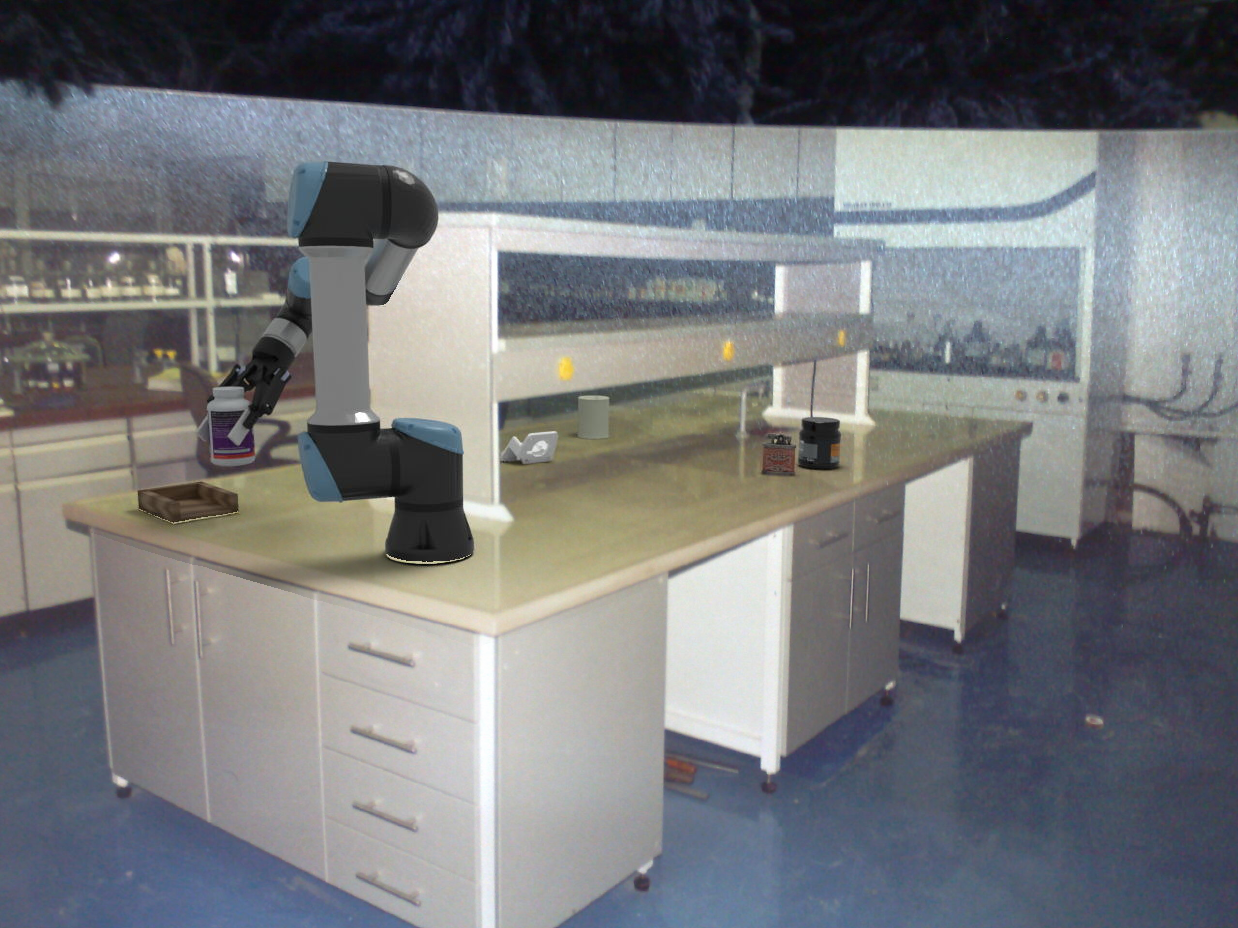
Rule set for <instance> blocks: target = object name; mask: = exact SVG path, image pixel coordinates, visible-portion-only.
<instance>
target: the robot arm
mask: <svg viewBox="0 0 1238 928" xmlns="http://www.w3.org/2000/svg"><path fill="white" fill-rule="evenodd" d="M289 186H290V187H289V191H288V192H289V193H288V199H287V200H288V202H287V214H286V215H287V217H286V220H287V221H286V224H287V225H286V226H287V227H286V229H287V235H288V236H289V237H291V238H293V239H295V240H296V238H297V240H298V241H297V242H298V250H299V251H300V253H301V254H303V255H304V256H302V257H300V258H298V259H297V260H295V262H294V263H293V264H292V266H291V269H290V272H289V274H288V277H287V290H286V293H285V300H284V303H283V305H282V307H281V308H280V310H279V311H278V312H277V314H276V316H275V317H274V319H272V321H271V322H270V323H269V325H268V326H267V328H266V329H265V331H264V332H263V333H262V337H260V338H259V339H258V341H257V343H256V344H255V346H254V347H253V348H252V351H251V355H252V356H251V357H252V358H251V361H249V362H248V363H247V364H246V365H245V366H241V365H240V364H239V363H236V364H234V365H233V367H232V368H231V371H230V373H229V374H228V375H227V376H226V377H225V378H224V379H223V381H222V382H220V384H219V385H218V386H217V387H243V388H244V394H245V393H246V392H249V391H252V390H253V389H254V388H255V389H254V393H253V397H252V400H251V405H248V407H249V408H250V409H251V411H250V410H249V409H245V411H244V412H243V414H242V415H241V417H240V418H239V420H238V421H237V423H236V424H235V426H234V427H233V429H232V430H231V432H230V433H229V435H228V436H227V437H228V438H229V439H230V440H231V441H232V442H233V443H235V444H236V445H238V446H239V445H240V444H241V442H242V441H243V439H244V438H245V436H246V434H247V433H248V431H249V430H250V429H251V428H252V427H253V428H254V427H255V424H256V423H257V422H258V420H259V418H262V417H263V416H264V415H266V416H267V417H268V416H271V415H272V414H273V411H274V410H275V408H276V405H277V404H278V401H279V399H280V397H281V395H282V393H283V391H284V389H285V387H286V385H287V384H288V383H289V381H291V379H292V377H293V375H292V374H291V373H290V372H289V369H290V367H291V366H292V365H293V363H294V361H295V359H296V358H297V356H298V355H299V353H300V352H301V350H302V349H303V347H304V345H305V344H306V342H307V341H308V340H309V338H310V337H311V336H312V346H313V349H312V350H313V370H314V391H315V393H314V395H315V411H314V412H313V413H312V415H310V417H308V419H306V423H307V424H306V426H307V427H306V428H307V430H304V431H302V432H299V433H298V435H297V441H298V442H297V444H298V454H299V460H300V465H301V471H302V473H303V477H304V482H305V485H306V488H307V491H308V493H309V495H310V496H311V498H312V499H314V501H317V502H318V503H319V502H321V503H330V502H331V503H332V502H333V503H336V502H337V503H343V502H347V501H361V500H363V501H364V500H373V499H376V500H377V499H387V498H394V511H393V512H394V513H393V516H392V519H391V521H390V525H389V529H388V533H387V537H386V539H385V543H384V551H385V552H386V554H388V555H389V556H391V557H394V558H397V559H401V560H406V561H422V562H426V561H427V562H433V561H450V560H455V559H460V558H463V557H466V556H468V555H470V554H472V553H473V551H474V552H475V539H474V536H473V533H472V531H471V527H470V524H469V522H468V519H467V515H466V512H465V509H464V460H463V459H464V457H463V455H464V453H465V451H464V448H463V437H462V432H461V430H460V429H459V427H457V426H456V425H455V424H452V423H448V422H446V421H445V422H444V421H440V420H433V419H427V418H420V417H419V418H416V417H396V418H394V419H393V420H392V422H391V424H390V426H391V427H387V428H381V419H380V416H378V414H376V413H375V412H374V411H373V410H372V409H371V396H370V395H371V393H370V372H369V369H370V368H369V346H368V345H369V344H368V343H369V342H368V341H369V339H368V317H367V315H368V313H367V307H368V306H369V307H370V306H374V307H376V306H377V307H380V305H384V304H386V303H387V302H388V301H389V299H390V297H391V295H392V294H393V292H394V290H395V289H396V287H397V285H398V283H399V281H400V280H401V278H402V276H403V274H404V275H405V273H406V271H407V269H408V268H409V266H410V264H411V263H412V260H413V258H414V257H415V255H416V253H417V252H418V250H419V249H421V248H423V247H424V246H425V245H427V244H428V243H429V242H430V241H431V239H432V237H433V236H434V234H435V232H436V230H437V228H438V223H439V207H438V203H437V201H436V199H435V197H434V195H433V192H432V191H431V190H430V188H429V187H428V186H427V184H425V182H424V181H422V179H420V178H419V177H418V176H417V175H415V174H414V173H412V172H411V171H408V170H407V169H404V168H402V167H399V166H394V165H392V164H391V165H390V164H382V165H381V164H380V165H379V164H367V163H366V164H365V163H355V162H354V163H352V162H341V161H340V162H339V161H327V160H326V161H325V160H324V161H305V162H300V163H299V164H298V165H297V166H296V167H295V169H294V171H293V173H292V175H291V180H290V185H289ZM214 399H215V397H214V396H213V392H212V393H211V395H210V396H209V397H207V399H206V403H207V405H208V404H209V402H211V401H213V400H214ZM194 433H195V435H197V436H198V438H200V439H201V440H202V441H203V442H208V441H209V432H208V418H207V413H206V414H205V416H204V417H203V420H202V422H201V424H200V425H199V426H198V427H197V429H196V430H195V432H194ZM473 554H474V553H473ZM473 554H472V555H473Z"/></svg>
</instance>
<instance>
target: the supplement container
mask: <svg viewBox="0 0 1238 928" xmlns="http://www.w3.org/2000/svg"><path fill="white" fill-rule="evenodd" d="M800 423H801V425H800V426H801V429H800V430H799V432H798V450H797V451H798V453H797V454H798V457H797V463H798V465H799V466H800V467H802V468H805V469H808V470H809V469H810V470H820V471H822V470H823V471H824V470H835V469H836V468H838V467H839V465H840V459H841V458H840V455H841V440H842V439H841V438H842V433H841V431H840V430H839V429H840V428H841V421H840V419H837V418H834V417H825V416H813V417H812V416H810V417H809V416H808V417H803V418H801V422H800Z"/></svg>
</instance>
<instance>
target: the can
mask: <svg viewBox="0 0 1238 928" xmlns="http://www.w3.org/2000/svg"><path fill="white" fill-rule="evenodd" d="M577 403H578V404H577V405H578V407H577V409H578V413H577V414H578V415H577V417H578V418H577V423H578V424H577V425H578V426H577V430H578V431H577V438H580V439H583V440H604V439H609V438H610V434H609V433H610V432H609V430H610V428H609V426H610V425H609V422H610V421H609V420H610V414H609V413H610V396H605V395H581V396H578V397H577Z"/></svg>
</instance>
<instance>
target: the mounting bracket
mask: <svg viewBox="0 0 1238 928" xmlns="http://www.w3.org/2000/svg"><path fill="white" fill-rule="evenodd" d="M558 438H559V433H558V432H557V431H556V430H555V431H553V430H552V431H541V432H540V431H539V432H532V433H531V432H530V433H528V434H527V435H526V437H525V438H524V440H523V442H521V441H520V440H519V439H518V437H517V436H512V437H511V439H510V441H509V442H508V444H507V445H506V447H505V449H504V450H503V451H502V452H501V453H500V454H501V456H500V460H501V462H503V461H504V462H503V463H506V462H505V461H508V462H516V461H520V462H521V463H522V464H523V465H527V464H528V465H529V464H534V463H536V464H537V463H545V462H551V461H552V460H553V458H554V454H555V450H556V446H557V443H558V440H559V439H558Z"/></svg>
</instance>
